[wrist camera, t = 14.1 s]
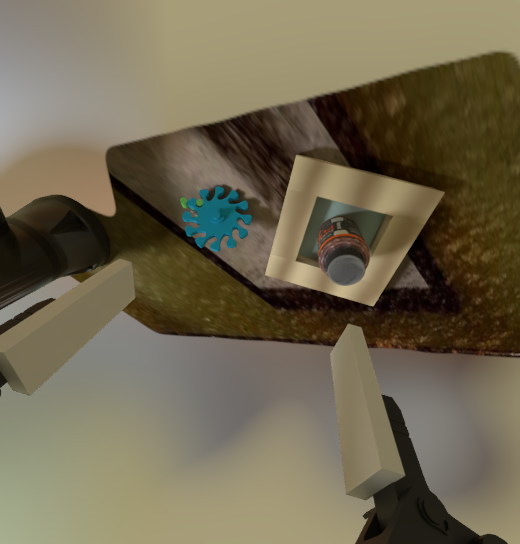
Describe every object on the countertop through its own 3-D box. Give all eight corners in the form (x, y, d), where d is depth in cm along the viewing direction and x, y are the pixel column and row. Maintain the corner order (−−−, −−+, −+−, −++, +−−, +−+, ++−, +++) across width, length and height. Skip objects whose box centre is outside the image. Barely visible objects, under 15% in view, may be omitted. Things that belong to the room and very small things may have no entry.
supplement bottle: (325, 210, 33) (329, 238, 23) (365, 220, 32) (387, 254, 23) (312, 246, 36) (311, 285, 26) (349, 256, 35) (362, 299, 26)
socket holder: (268, 266, 40) (265, 275, 37) (297, 154, 30) (296, 155, 28) (369, 295, 38) (373, 306, 36) (433, 187, 29) (444, 192, 26)
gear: (264, 206, 33) (226, 261, 31) (261, 223, 39) (229, 271, 37) (201, 168, 34) (160, 220, 31) (208, 191, 39) (173, 236, 37)
